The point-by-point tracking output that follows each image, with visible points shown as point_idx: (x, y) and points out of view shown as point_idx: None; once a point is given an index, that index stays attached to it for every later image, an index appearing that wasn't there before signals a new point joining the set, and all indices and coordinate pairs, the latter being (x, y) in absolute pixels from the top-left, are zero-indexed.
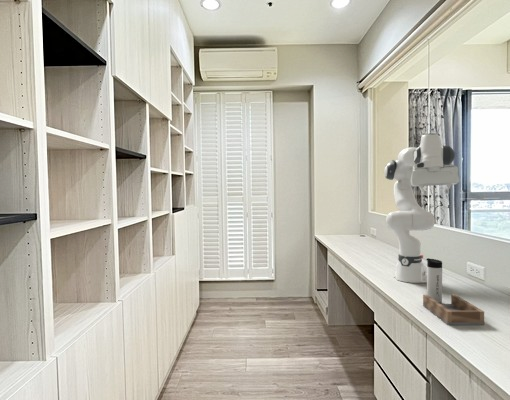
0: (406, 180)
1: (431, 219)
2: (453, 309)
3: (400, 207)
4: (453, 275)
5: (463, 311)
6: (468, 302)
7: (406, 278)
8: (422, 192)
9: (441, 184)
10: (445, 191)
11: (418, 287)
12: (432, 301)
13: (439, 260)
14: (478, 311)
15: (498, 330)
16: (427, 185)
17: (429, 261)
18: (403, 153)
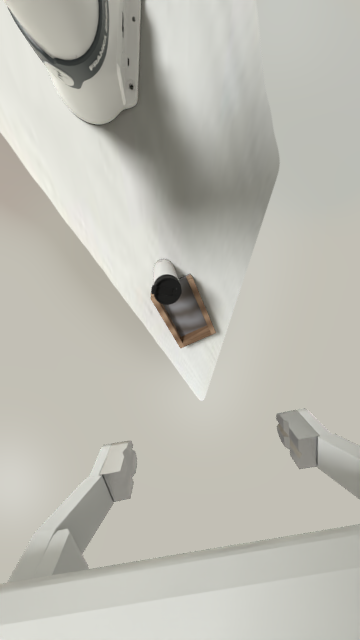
0: None
1: None
2: (187, 299)
3: None
4: None
5: (195, 340)
6: (205, 308)
7: (87, 114)
8: (95, 470)
9: (343, 544)
10: (290, 445)
11: (127, 170)
12: (164, 321)
13: (176, 281)
14: (210, 334)
15: (221, 332)
16: (121, 573)
17: (158, 301)
18: None
